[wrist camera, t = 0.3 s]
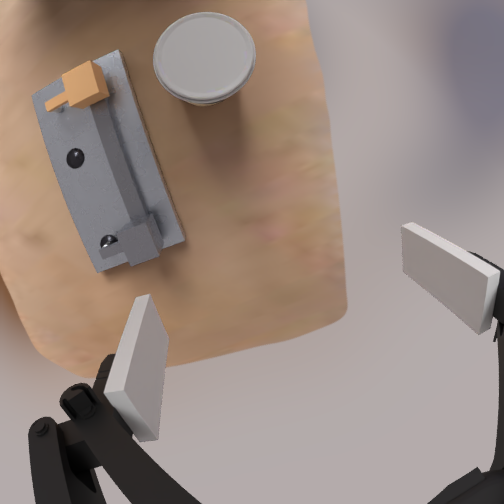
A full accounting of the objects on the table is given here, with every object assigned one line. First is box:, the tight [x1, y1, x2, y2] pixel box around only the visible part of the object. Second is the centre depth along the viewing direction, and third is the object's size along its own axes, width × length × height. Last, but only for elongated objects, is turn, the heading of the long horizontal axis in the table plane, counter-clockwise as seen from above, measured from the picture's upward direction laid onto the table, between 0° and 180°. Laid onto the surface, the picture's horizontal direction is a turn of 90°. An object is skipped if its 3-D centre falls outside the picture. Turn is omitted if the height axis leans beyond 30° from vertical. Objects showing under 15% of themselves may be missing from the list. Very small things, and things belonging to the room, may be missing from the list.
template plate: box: [32, 49, 186, 273], centre depth 33 cm, size 26×13×8 cm, turn 17°
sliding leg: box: [45, 60, 110, 113], centre depth 29 cm, size 4×8×6 cm, turn 107°
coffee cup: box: [153, 12, 256, 106], centre depth 30 cm, size 9×9×12 cm
